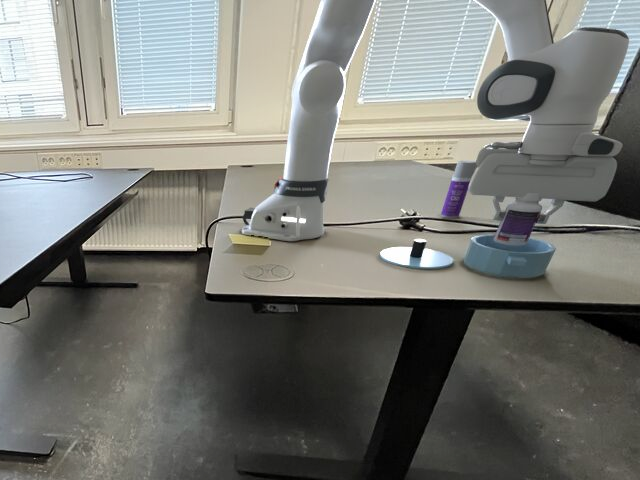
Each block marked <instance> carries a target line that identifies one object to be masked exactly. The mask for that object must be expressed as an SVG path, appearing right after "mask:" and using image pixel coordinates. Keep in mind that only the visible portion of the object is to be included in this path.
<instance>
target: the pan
mask: <svg viewBox="0 0 640 480" xmlns="http://www.w3.org/2000/svg"><path fill="white" fill-rule="evenodd" d="M495 234H496V233H495ZM495 234H493V233H492V234H481V235H476V236H474V237H472V238H470V239H471V240H470V243H469V245H468V246H467V247H468V248H467V250H466V253H465V256H464V259H463V263H464V265H465V266H467V267H468V268H470V269H473V270H476V271H478V272H481V273H485V274H490V275H494V276H500V277H509V278H535V277H540V276H543V275H544V274H545V273H546V271H547V268H548V266H549V264H550V262H551V260H552V258H553V257H554V255H555V252H556V250H557V248H556V247H555V246H554V244H553V243H549V242H547V241H545V240H542V239H538V238H532V237H529V239H528V241H527V243H526V244H525V245H522V246H510V245H503V244H500V243H497V242H495V241H494V237H495Z"/></svg>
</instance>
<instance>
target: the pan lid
mask: <svg viewBox="0 0 640 480" xmlns="http://www.w3.org/2000/svg"><path fill="white" fill-rule="evenodd" d="M427 242H428V241H427V240H426V239H422V238H415V239H413V242H412V246H396V247H389V248H385V249H383V250H382V251H380V253H379V257H380V259H382V260H383V261H384V262H387V263H389V264H391V265H395V266H398V267H403V268H409V269H418V270H438V269H440V270H441V269H444V268H448V267H450V266H452V265H453V263H454V259H453V257H451V256H450V255H449V254H446V253H445V252H441V251H438V250H434V249H431V248H430V249H429V248H426V245H427Z"/></svg>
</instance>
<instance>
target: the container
mask: <svg viewBox="0 0 640 480" xmlns="http://www.w3.org/2000/svg"><path fill="white" fill-rule="evenodd" d="M476 167H477V166H476V160H475V161H474V160H458V161H457V163H456V166H455V168H454V172H453V175H452V178H451V180H450V184H449V187H448V190H447V193H446V197H445V200H444V203H443V206H442V209H441V212H440V217H441V218H444V219H445V218H446V219H457V218H459V217H460V214H461V211H462V209H463V206H464V202H465V199H466V196H467V193H468V192H469V190H468V186H469V183H470V181H471V178H472V176H473V174H474V172H475V170H476Z"/></svg>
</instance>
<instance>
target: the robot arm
mask: <svg viewBox="0 0 640 480" xmlns="http://www.w3.org/2000/svg"><path fill="white" fill-rule="evenodd" d="M473 2H475V3H477V4H479V5H480V6H481V7H483V8H484V9H486V10H487V11H488V12H489V13H490V14H492V16H494V18H495V19H496V20H497V22H498V23H499V26H500V28H501V30H502V35H503V40H504V45H505V49H506V54H507V60H508V61H506V62H504V63H501V64H500V65H498V66H497V67H496V68H494V69H493V70H492V71H490V73H489V74H487V76H486V77H485V79H484V80H483V82H482V83H481V85H480V87H479V89H478V93H477V97H476V105H477V109H478V111H479V113H480V114H481V115H482V116H483V117H485V118H486V119H489V120H492V121H498V122H501V121H503V122H504V121H507V122H508V121H519V122H529V123H528V125H527V128H526V131H525V133H524V135H523V138H522V141H509V142H502V141H494V142H491V143H490V144H487V145H485V146H483V147H482V148H481V149H480V150H479V152H478V153H477V157H476V159H475V161H476V166H475V169H474V172H473V175H472V178H471V181H470V183H469V186H468V192H469V194H471V195H472V196H485V197H486V196H487V197H488V196H489V197H493V198H492V203H493V207H494V210H495V211H494V213H493V214H492V215H493V216H492V221H497V222H498V221H500V222H501V221H502V220H503V216H505V213H506V211H505V210H506V209H502V208H501V205H500V203H503V202H504V201H505V198H515V197H524V196H525V195H526V194H527V193H538V194H539V198H540V199H541V200H551V201H550V204H551V206H549V208H547V209H546V210H544V212H541V213H540V215H539V217H538V219H537V222H536V224H538V225H539V224H540V225H546V224H547V222H549V221H548V220H549V219H550V216H552V215H553V214H554V213H555V212H558V210H559V209H561V208H562V207H563V206H564V204H565V202H566V201H580V202H597V201H599V200H601V199H603V198H604V197H605V196H606V195H607V193H608V192H609V189H610V187H611V185H612V182H613V180H614V177H615V175H616V171H617V167H618V162H617V159H615V158H614V157H615V156H617V155H618V154H619V153H620V152H621V150H622V148H623V143H622V142H621V141H618V140H616V139H613V138H610V137H606V136H605V135H604V134H601V133H593V130H594V127H595V126H596V124H597V120H598V115H599V110H600V109H601V106H602V104H603V103H604V101H605V100H606V99H607V97H608V96H609V95H610V93H611V92H612V90H613V87H614V85H615V84H616V81H617V78H618V76H619V75H620V72H621V69H622V66H623V65H624V61H625V59H626V55H627V53H628V49H629V44H630V38H629V36H628V35H627V33H626V32H624V31H622V30H620V29H615V28H608V27H607V28H606V27H594V26H593V27H591V26H589V27H587V26H586V27H579V28H576V29H574V30H572V31H570V32H569V33H567V34H566V35H565V36H563V37H562V38H560V39H559V40H557V41H554V36H553V31H552V25H551V20H550V15H549V9H548V3H547V0H473ZM375 3H376V0H320V2H319V6H318V9H317V12H316V15H315V18H314V20H313V23H312V26H311V29H310V33H309V36H308V40H307V41H306V45H305V47H304V51H303V53H302V57H301V60H300V63H299V66H298V69H297V72H296V75H295V78H294V81H293V84H292V87H291V95H290V97H291V102H292V104H291V110H290V111H291V112H290V120H289V126H288V134H287V135H288V136H287V141H286V149H285V156H284V157H285V158H284V166H283V176H281V177H279V178H277V180H276V181H275V182H274V184H273V188H274V191H273V194H271V195H270V196H269V197H267V198H266V199H264V200H263V201H262V202H261V203H259V204H258V205H257V206H256V207H248V208H247V209H245V210H244V213H243V215H242V221H243V223H244V225H243V226H242V228H241V234H243V235H244V236H245V235H246V236H251V235H254V236H253V237H258V236H264V237H268V238H267V239H272V240H276V241H277V240H278V241H284V242H297V241H300V240H311V239H312V240H313V239H315V238H321V237H322V236H323V235H324V234H325V225H324V204H325V201H326V199H327V194H328V188H329V178H328V175H329V169H330V168H329V167H330V162H331V157H332V156H331V155H332V151H333V145H334V140H335V136H336V132H337V128H338V124H339V119H340V116H341V111H342V106H343V101H344V96H345V92H346V84H347V83H346V82H347V81H346V73H347V71H348V68H349V66H350V63H351V62H352V60H353V57H354V55H355V53H356V50H357V47H358V46H359V43H360V41H361V39H362V38H363V35H364V32H365V29H366V27H367V24H368V22H369V19H370V16H371V14H372V11H373V9H374V6H375ZM248 220H250V221H249V222H248ZM264 237H263V238H264Z"/></svg>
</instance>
